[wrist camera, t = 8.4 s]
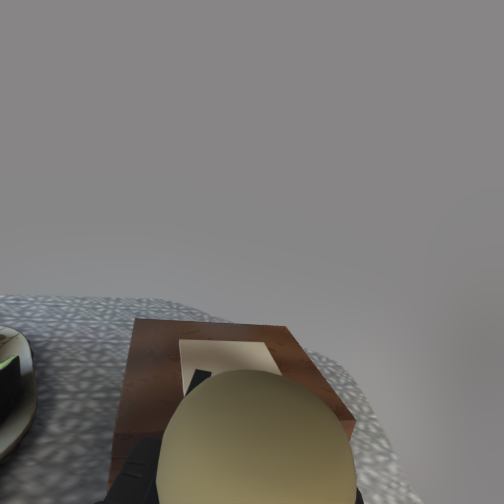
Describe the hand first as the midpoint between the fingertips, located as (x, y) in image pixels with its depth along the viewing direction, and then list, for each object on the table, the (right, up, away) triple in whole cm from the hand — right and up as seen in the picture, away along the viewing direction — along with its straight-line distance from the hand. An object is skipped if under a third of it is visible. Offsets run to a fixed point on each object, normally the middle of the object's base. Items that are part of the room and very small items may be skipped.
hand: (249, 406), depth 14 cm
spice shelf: (-2, -5, +9) cm, 11 cm away
